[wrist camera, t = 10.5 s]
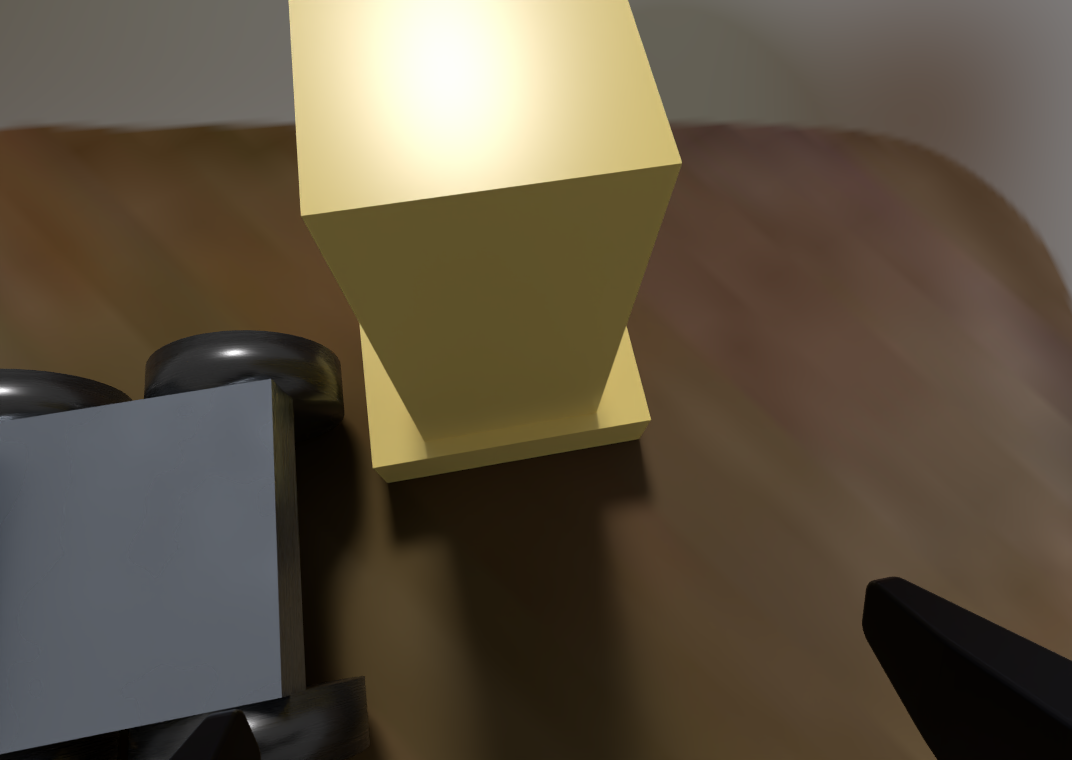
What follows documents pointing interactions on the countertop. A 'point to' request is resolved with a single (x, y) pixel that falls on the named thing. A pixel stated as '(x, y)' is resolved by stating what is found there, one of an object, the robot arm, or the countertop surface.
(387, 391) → the yellow block on base
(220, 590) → the trolley
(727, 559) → the countertop surface
